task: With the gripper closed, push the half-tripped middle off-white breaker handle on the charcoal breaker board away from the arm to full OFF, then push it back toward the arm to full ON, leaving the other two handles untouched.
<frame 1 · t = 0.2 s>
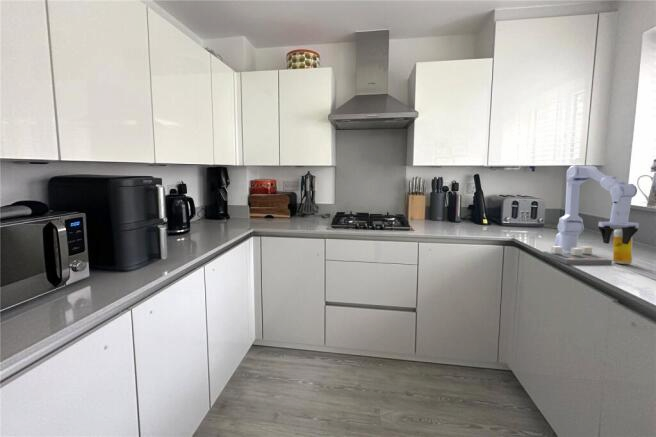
hand: (615, 243, 133), 10 cm above the counter, tool pointing down, fingers open, 7 cm apart
breaker board: (575, 259, 143), on the counter
yellow and white cylinder: (622, 263, 137), on the counter
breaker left: (556, 249, 146), point 4 cm above the counter, slide at 0.0 cm
tripped breaker: (576, 251, 143), point 4 cm above the counter, slide at 3.0 cm
breaker right: (585, 249, 146), point 4 cm above the counter, slide at 0.0 cm
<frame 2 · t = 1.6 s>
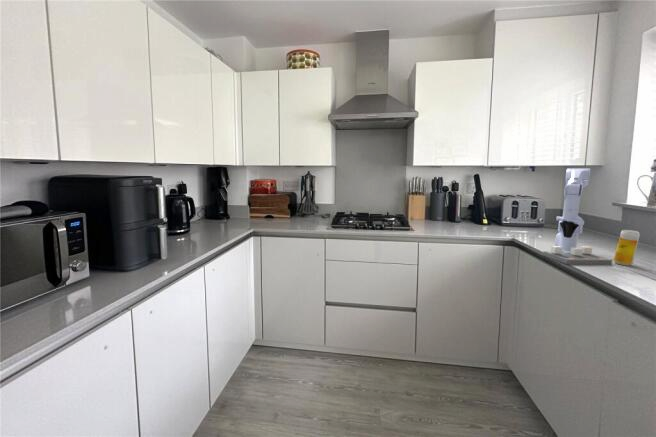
hand: (567, 237, 148), 9 cm above the counter, tool pointing down, fingers closed
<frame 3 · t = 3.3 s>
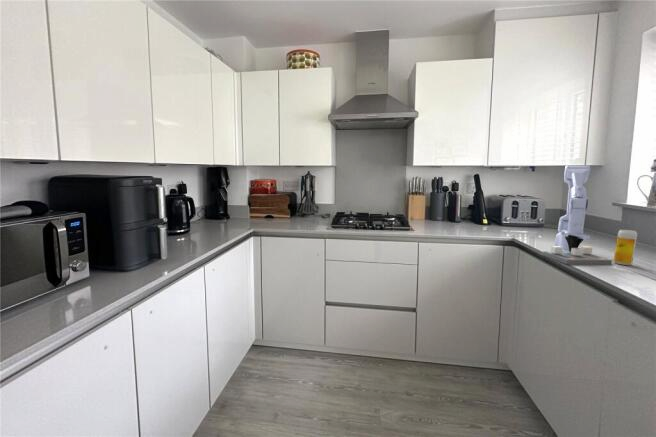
hand: (572, 251, 145), 3 cm above the counter, tool pointing down, fingers closed
tripped breaker: (577, 251, 142), point 4 cm above the counter, slide at 3.3 cm, touching gripper
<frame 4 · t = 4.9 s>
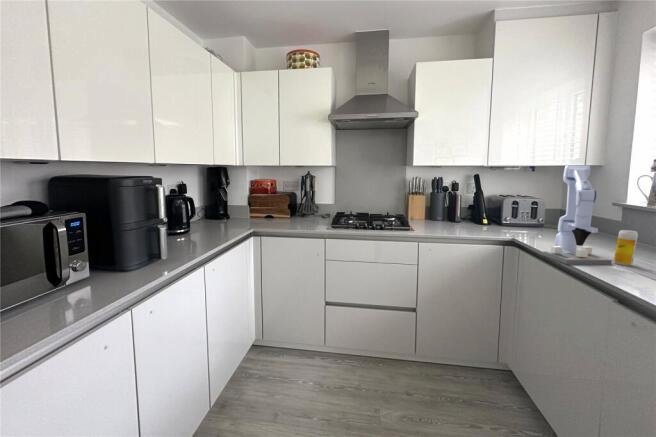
hand: (579, 245, 141), 7 cm above the counter, tool pointing down, fingers closed
tripped breaker: (581, 253, 140), point 4 cm above the counter, slide at 6.1 cm
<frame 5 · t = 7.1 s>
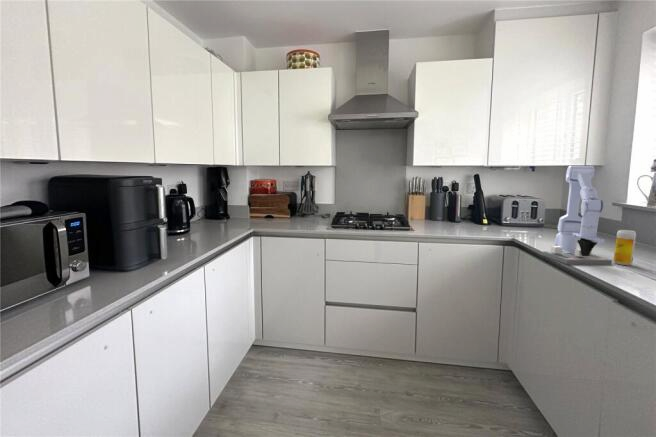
hand: (585, 256, 138), 3 cm above the counter, tool pointing down, fingers closed
tripped breaker: (580, 252, 140), point 4 cm above the counter, slide at 5.4 cm, touching gripper
everything else where it was.
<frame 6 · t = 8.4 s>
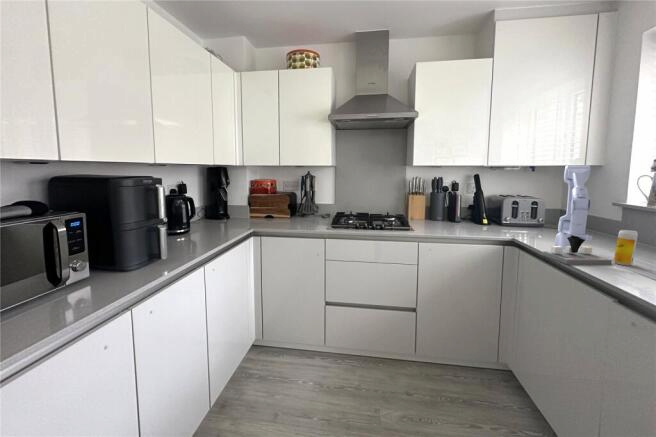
hand: (574, 252, 144), 3 cm above the counter, tool pointing down, fingers closed
tripped breaker: (570, 249, 146), point 4 cm above the counter, slide at -0.2 cm, touching gripper
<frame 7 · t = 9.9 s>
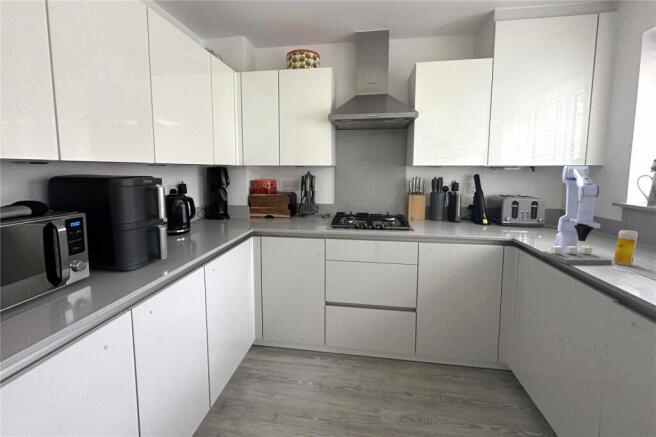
hand: (581, 240, 141), 9 cm above the counter, tool pointing down, fingers closed
tripped breaker: (571, 249, 146), point 4 cm above the counter, slide at -0.1 cm
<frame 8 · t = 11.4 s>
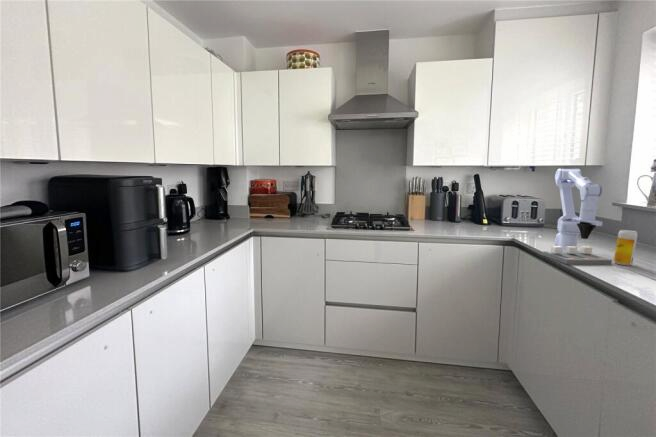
hand: (584, 238, 145), 9 cm above the counter, tool pointing down, fingers closed
at the end: tripped breaker slide at -0.1 cm; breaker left slide at 0.0 cm; breaker right slide at 0.0 cm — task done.
